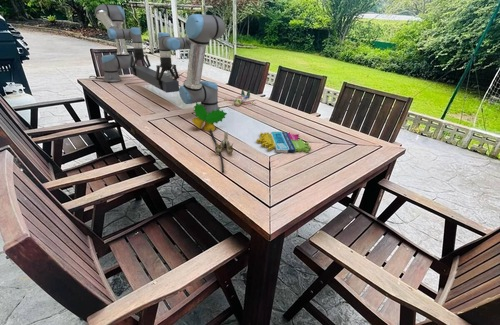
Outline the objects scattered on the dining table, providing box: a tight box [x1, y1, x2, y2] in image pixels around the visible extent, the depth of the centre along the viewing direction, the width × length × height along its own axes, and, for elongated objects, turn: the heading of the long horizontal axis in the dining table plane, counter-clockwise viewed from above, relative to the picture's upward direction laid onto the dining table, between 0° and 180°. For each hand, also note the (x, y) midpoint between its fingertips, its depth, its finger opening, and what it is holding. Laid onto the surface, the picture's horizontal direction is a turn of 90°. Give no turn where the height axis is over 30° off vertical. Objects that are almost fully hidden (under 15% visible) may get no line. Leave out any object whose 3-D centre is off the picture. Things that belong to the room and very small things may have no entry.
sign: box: [256, 131, 312, 154], centre depth 152 cm, size 26×2×30 cm
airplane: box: [159, 67, 181, 78], centre depth 278 cm, size 38×31×10 cm
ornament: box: [191, 102, 228, 132], centre depth 162 cm, size 21×8×15 cm, turn 105°
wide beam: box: [131, 65, 180, 94], centre depth 211 cm, size 70×10×7 cm, turn 39°
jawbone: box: [214, 131, 234, 156], centre depth 136 cm, size 9×15×10 cm
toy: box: [223, 89, 257, 106], centre depth 219 cm, size 28×7×30 cm
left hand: (141, 75), depth 231 cm, fingers closed on wide beam, 10 cm apart
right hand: (168, 88), depth 195 cm, fingers closed on wide beam, 10 cm apart
